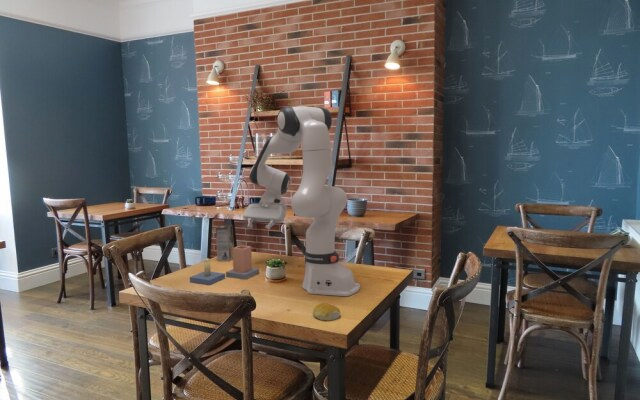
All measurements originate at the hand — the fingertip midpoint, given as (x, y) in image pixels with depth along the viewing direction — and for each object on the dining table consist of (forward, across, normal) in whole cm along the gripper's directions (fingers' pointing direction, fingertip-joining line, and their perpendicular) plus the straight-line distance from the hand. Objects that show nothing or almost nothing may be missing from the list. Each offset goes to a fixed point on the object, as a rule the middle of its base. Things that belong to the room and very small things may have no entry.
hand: (258, 228), depth 200 cm
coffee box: (+8, -23, +17) cm, 30 cm away
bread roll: (+41, +51, -15) cm, 67 cm away
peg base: (+30, -9, -5) cm, 32 cm away
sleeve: (+20, 0, +2) cm, 21 cm away
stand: (+22, 0, +4) cm, 22 cm away
